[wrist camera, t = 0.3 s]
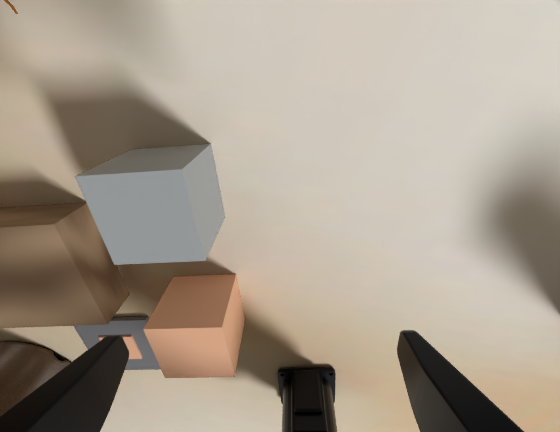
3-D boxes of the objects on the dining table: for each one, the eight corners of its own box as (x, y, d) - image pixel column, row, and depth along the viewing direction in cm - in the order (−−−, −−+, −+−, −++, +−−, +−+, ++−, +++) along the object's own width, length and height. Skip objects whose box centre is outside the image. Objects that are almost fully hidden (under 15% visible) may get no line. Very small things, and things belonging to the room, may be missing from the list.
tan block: (131, 291, 27) (107, 324, 24) (37, 295, 28) (0, 327, 24) (90, 200, 22) (53, 224, 19) (-21, 207, 23) (-77, 232, 20)
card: (168, 364, 32) (166, 370, 31) (103, 366, 32) (99, 371, 32) (148, 316, 28) (144, 321, 27) (74, 318, 29) (69, 323, 28)
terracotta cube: (245, 319, 28) (234, 377, 23) (188, 320, 28) (165, 377, 23) (236, 273, 25) (222, 327, 20) (173, 276, 26) (143, 329, 20)
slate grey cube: (225, 216, 22) (205, 260, 17) (155, 220, 23) (114, 264, 18) (211, 143, 20) (182, 169, 14) (131, 149, 20) (74, 176, 15)
